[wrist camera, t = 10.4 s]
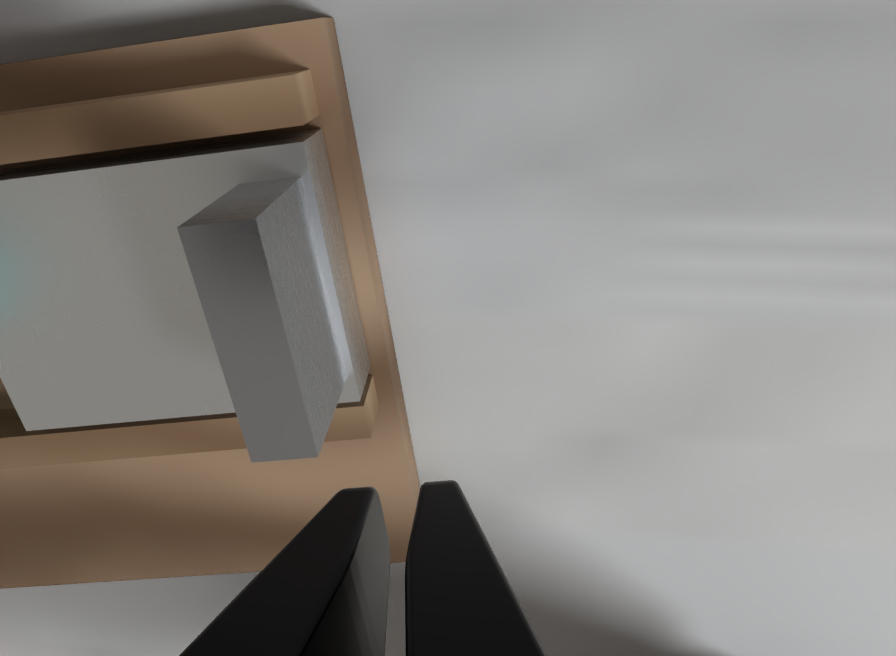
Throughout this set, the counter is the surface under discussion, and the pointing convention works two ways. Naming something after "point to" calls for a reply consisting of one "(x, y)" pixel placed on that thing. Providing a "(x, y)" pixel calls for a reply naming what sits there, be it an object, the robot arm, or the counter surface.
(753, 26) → the counter surface
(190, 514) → the housing board
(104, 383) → the cover slide
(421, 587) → the robot arm
